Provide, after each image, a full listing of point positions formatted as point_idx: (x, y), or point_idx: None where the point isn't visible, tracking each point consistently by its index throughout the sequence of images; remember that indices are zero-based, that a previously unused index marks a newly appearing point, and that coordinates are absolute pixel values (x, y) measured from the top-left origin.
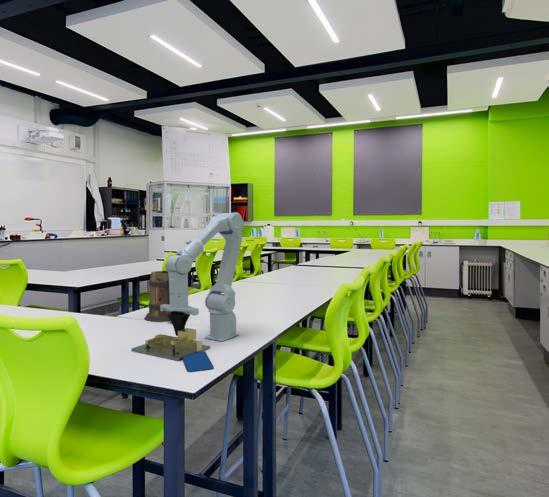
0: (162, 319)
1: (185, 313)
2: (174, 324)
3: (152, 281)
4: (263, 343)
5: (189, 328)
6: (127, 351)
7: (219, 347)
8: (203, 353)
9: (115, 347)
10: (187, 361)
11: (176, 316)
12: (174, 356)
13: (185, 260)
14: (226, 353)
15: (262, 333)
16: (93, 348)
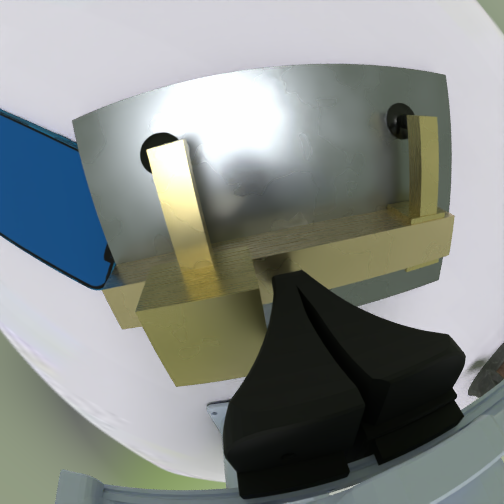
0: (502, 352)
1: (225, 491)
2: (332, 318)
3: None
4: (108, 433)
5: (241, 375)
6: (442, 64)
7: (147, 366)
8: (77, 270)
9: (498, 91)
10: (30, 144)
11: (274, 412)
12: (120, 117)
13: None
14: (61, 335)
15: (196, 466)
16: None
